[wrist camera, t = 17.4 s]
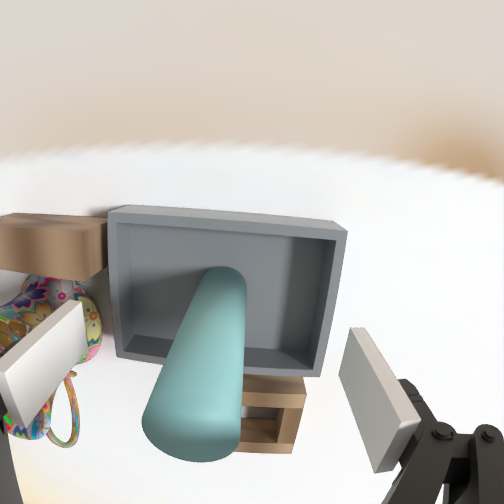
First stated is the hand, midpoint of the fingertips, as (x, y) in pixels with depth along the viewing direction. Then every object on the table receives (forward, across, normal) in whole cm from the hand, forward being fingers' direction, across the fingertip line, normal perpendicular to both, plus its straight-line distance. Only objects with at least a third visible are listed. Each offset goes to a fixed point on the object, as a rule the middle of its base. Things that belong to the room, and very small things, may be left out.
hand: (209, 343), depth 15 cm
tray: (+8, 0, 0) cm, 8 cm away
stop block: (+8, -13, +2) cm, 16 cm away
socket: (+8, +3, -10) cm, 14 cm away
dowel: (+7, 0, 0) cm, 7 cm away
